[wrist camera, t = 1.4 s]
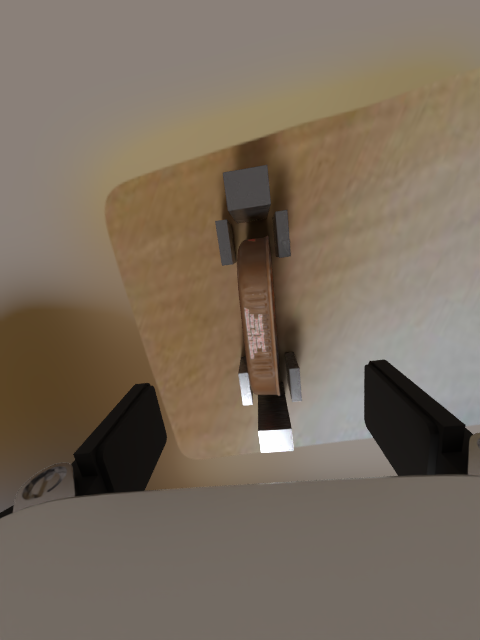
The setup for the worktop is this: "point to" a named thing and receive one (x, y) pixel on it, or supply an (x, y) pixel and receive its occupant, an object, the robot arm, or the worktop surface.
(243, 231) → the worktop surface
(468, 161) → the worktop surface
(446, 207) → the worktop surface
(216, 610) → the robot arm
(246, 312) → the tin
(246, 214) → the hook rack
